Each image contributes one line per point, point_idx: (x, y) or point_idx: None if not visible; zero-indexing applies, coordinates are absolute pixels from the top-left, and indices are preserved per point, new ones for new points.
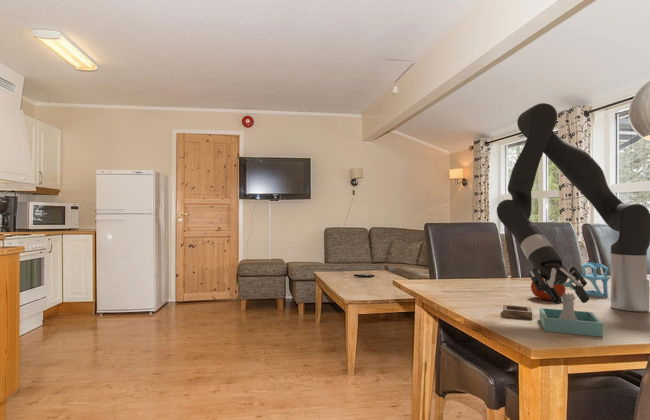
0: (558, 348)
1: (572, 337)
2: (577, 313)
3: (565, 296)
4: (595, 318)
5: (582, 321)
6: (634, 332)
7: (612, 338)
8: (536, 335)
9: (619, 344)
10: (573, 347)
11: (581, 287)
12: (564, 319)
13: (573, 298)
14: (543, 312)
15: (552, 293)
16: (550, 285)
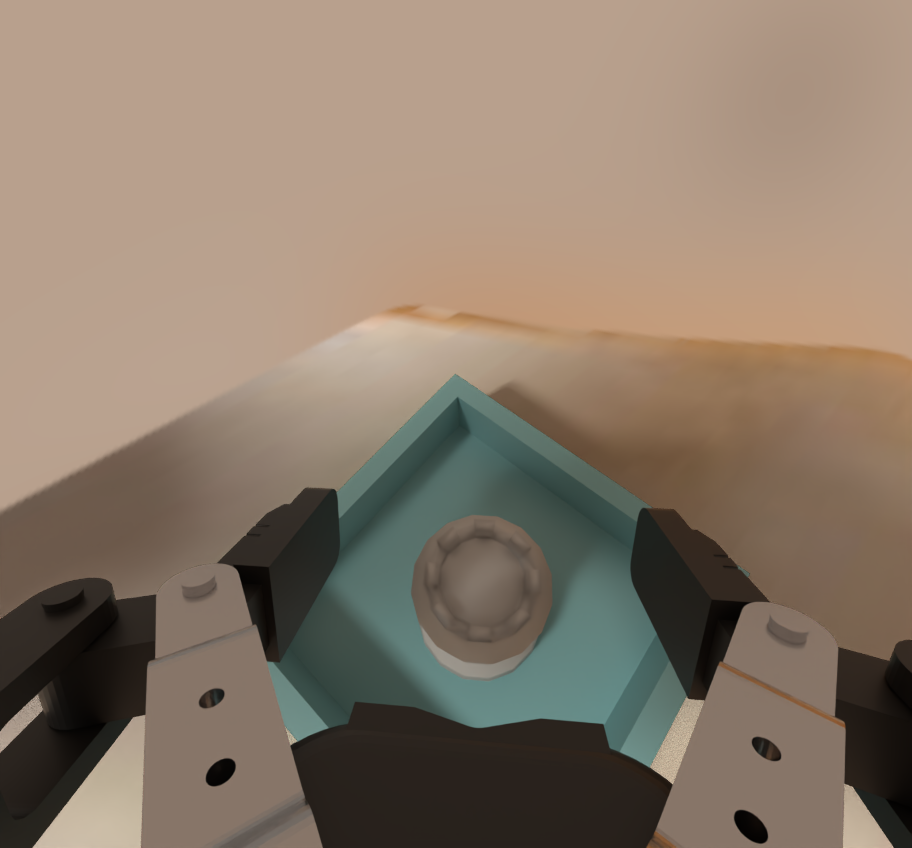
0: (798, 346)
1: (617, 445)
2: (297, 684)
3: (538, 566)
4: (386, 463)
5: (538, 430)
6: (222, 429)
7: (434, 387)
8: (806, 525)
9: (488, 326)
10: (720, 341)
11: (242, 563)
12: (621, 497)
13: (479, 517)
14: (637, 751)
15: (741, 575)
16: (807, 619)
